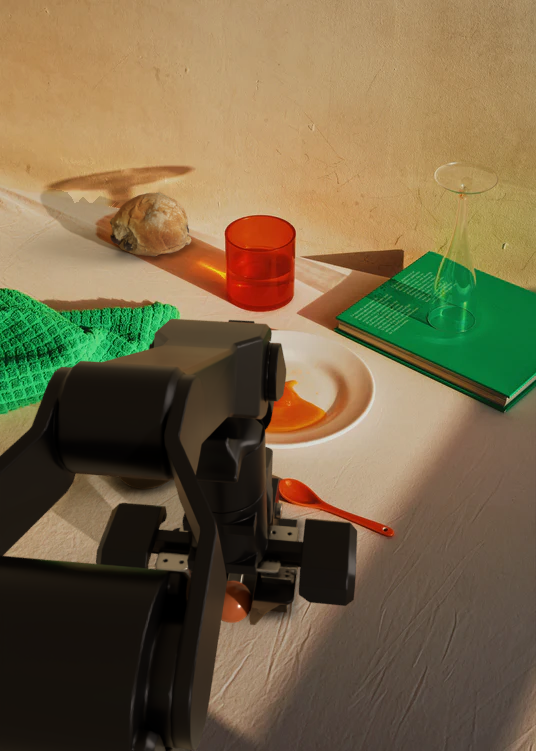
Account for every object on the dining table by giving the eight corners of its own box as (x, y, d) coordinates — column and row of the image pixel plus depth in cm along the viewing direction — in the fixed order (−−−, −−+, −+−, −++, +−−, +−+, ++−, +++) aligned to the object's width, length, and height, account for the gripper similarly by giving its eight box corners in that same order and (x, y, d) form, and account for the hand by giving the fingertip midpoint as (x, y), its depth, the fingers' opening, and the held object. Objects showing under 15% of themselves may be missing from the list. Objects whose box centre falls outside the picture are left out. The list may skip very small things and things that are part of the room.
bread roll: (181, 281, 119) (208, 229, 115) (106, 255, 113) (130, 199, 109) (172, 246, 129) (196, 197, 124) (101, 221, 123) (124, 168, 118)
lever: (250, 632, 58) (248, 611, 56) (209, 628, 58) (206, 607, 56) (268, 507, 66) (267, 485, 64) (233, 504, 67) (231, 482, 65)
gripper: (364, 415, 56) (352, 549, 65) (123, 398, 57) (146, 531, 67) (361, 528, 47) (347, 664, 56) (77, 504, 49) (110, 639, 58)
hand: (233, 617), depth 60 cm, fingers closed on lever, 3 cm apart
